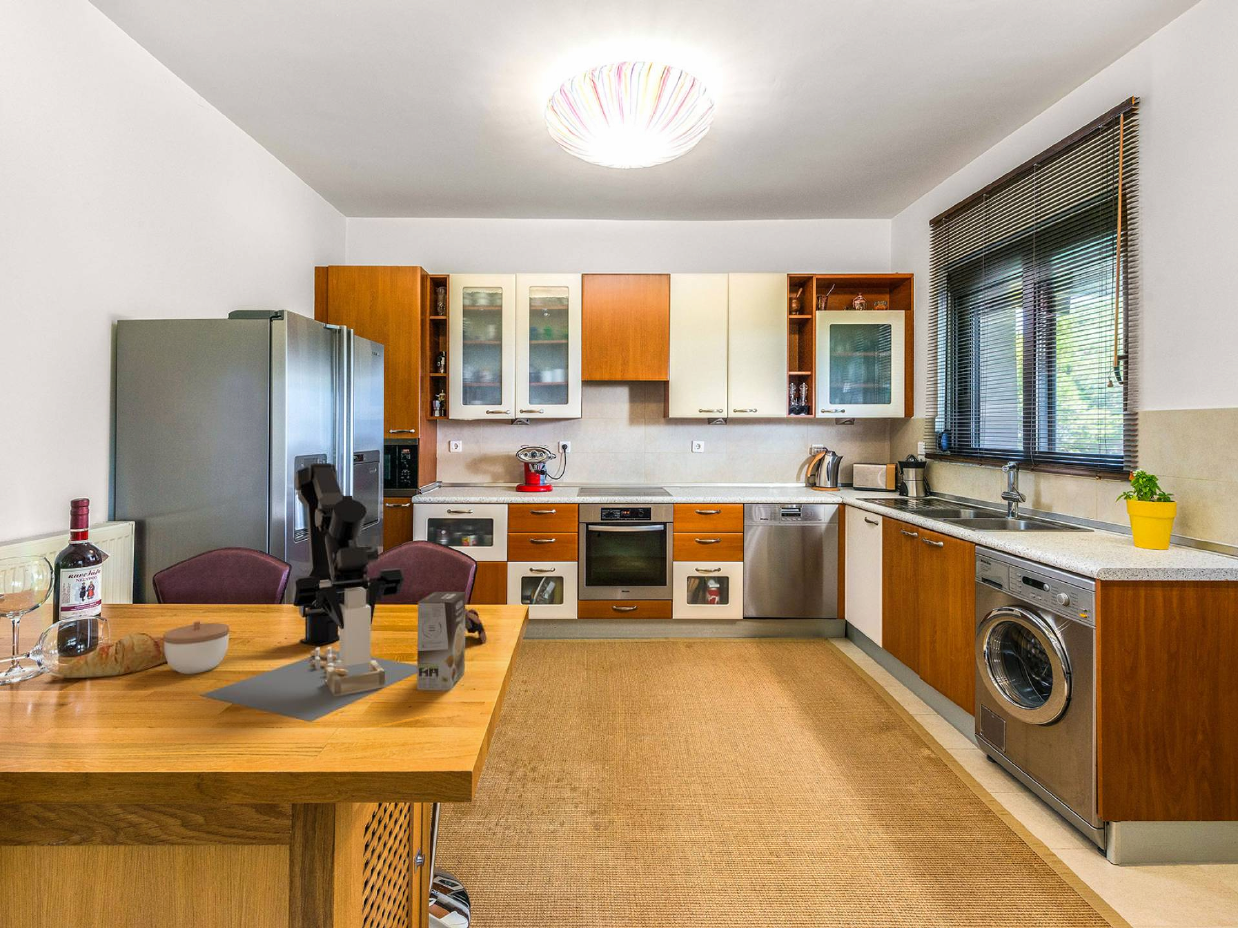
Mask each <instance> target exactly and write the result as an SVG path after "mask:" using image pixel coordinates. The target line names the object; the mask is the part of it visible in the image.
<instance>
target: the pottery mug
mask: <svg viewBox="0 0 1238 928" xmlns="http://www.w3.org/2000/svg"><path fill="white" fill-rule="evenodd" d="M465 630H466V631H467V633H468V634H475V633H477V634H478V635H477V636H478V638H479V639H480V642H481V644H482V645H484V644H485V643H486V641H487V639H488V638H487V635H486V631H485V628H484V625H483V623H482V620H481V619H480V616H479V613H478V612H477V611H476V610H475V609H473V608H471V609H469V610H468V609H467V608H465Z"/></svg>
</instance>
